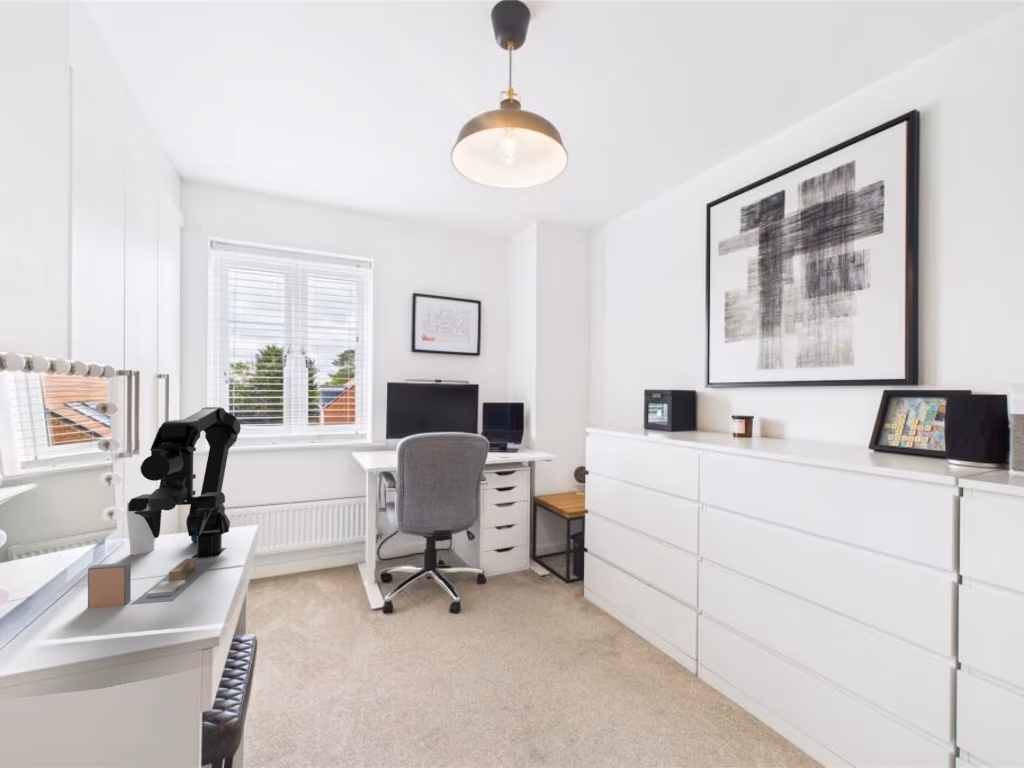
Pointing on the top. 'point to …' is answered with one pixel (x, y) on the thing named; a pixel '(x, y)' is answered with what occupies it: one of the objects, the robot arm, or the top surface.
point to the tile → (109, 585)
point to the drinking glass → (139, 534)
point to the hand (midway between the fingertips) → (177, 536)
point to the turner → (174, 579)
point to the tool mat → (198, 571)
